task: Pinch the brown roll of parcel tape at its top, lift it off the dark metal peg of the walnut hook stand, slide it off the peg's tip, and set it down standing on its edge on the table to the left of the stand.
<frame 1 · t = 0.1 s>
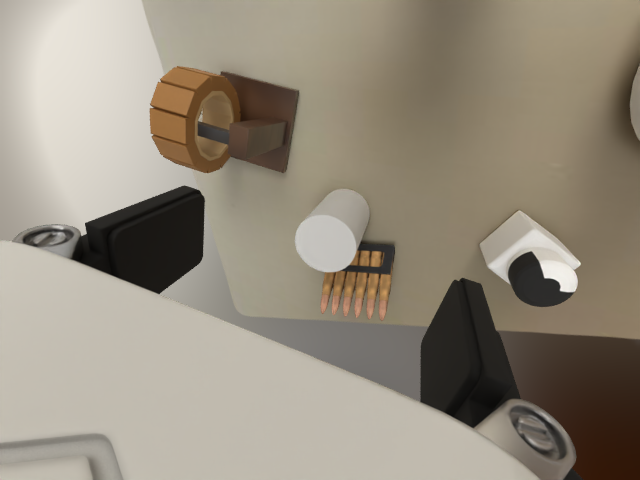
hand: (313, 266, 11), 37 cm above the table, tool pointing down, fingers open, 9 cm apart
ammunition clip: (361, 245, 51), on the table
cup: (345, 212, 50), on the table
medicine bottle: (516, 241, 44), on the table
hook stand: (256, 123, 48), on the table
tape roll: (200, 122, 40), point 9 cm above the table, touching hook stand
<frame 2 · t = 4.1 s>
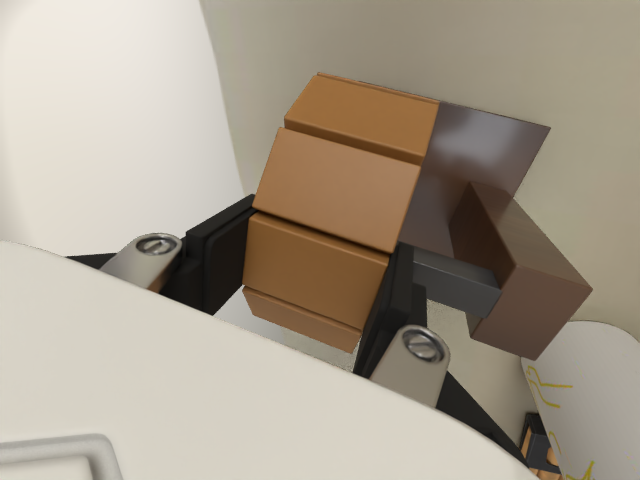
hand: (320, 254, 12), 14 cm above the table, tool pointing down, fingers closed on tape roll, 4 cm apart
ammunition clip: (604, 435, 26), point 1 cm above the table
cup: (578, 359, 25), on the table
hook stand: (416, 188, 23), on the table
tape roll: (345, 215, 16), point 9 cm above the table, touching gripper, hook stand
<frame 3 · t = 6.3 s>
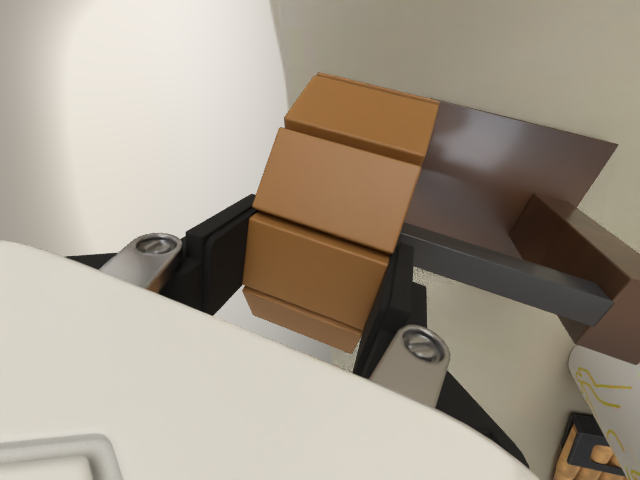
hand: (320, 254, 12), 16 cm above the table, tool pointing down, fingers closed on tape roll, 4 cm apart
cup: (625, 362, 26), on the table
hook stand: (476, 198, 24), on the table
tape roll: (345, 215, 16), point 11 cm above the table, touching gripper
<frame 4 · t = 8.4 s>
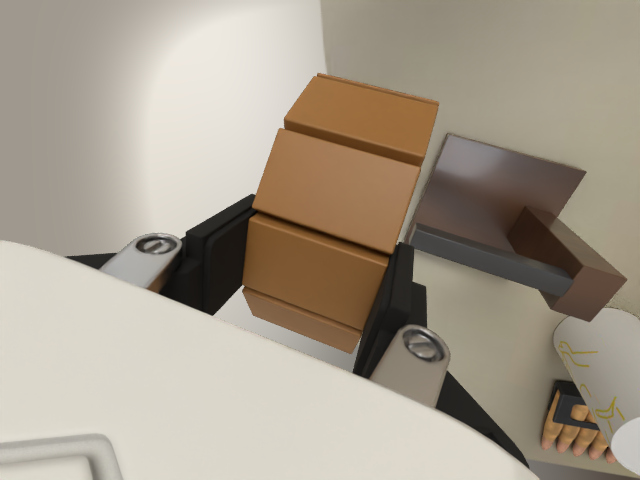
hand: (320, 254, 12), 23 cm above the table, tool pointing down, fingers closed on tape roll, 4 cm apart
ammunition clip: (615, 395, 34), point 1 cm above the table
cup: (597, 337, 33), on the table
hook stand: (481, 208, 31), on the table
tape roll: (345, 216, 16), point 19 cm above the table, touching gripper
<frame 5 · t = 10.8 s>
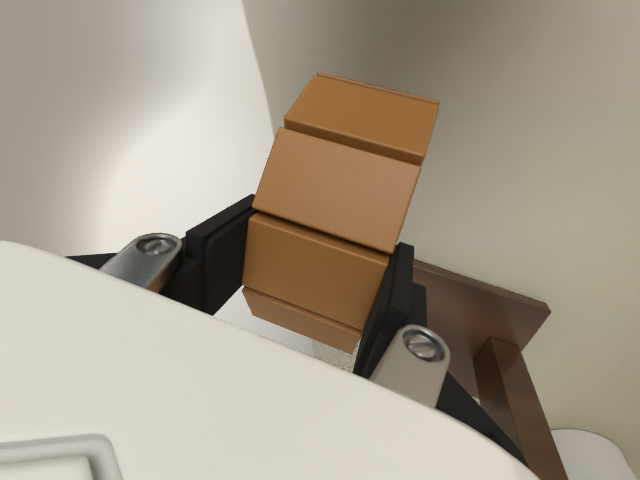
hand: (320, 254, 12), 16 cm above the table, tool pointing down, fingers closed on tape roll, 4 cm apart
cup: (572, 454, 32), on the table
hook stand: (447, 328, 30), on the table
tape roll: (345, 215, 16), point 12 cm above the table, touching gripper
when the fingers open (10 cm above the table, at t = 12.6 s): tape roll stays where it is, point 6 cm above the table.
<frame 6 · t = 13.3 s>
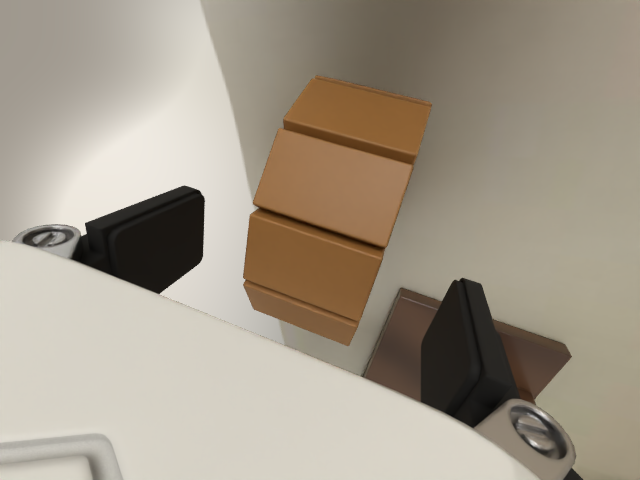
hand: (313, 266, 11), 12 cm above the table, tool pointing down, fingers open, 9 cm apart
hook stand: (447, 367, 26), on the table
tape roll: (342, 213, 16), point 6 cm above the table
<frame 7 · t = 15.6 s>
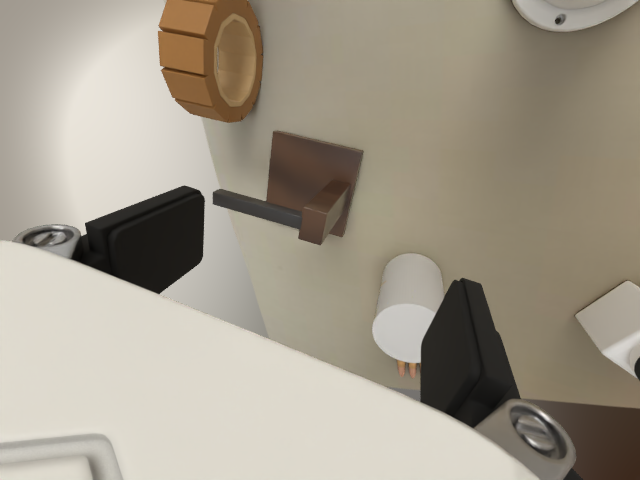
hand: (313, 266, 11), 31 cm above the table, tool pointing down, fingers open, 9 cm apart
cup: (411, 277, 44), on the table
medicine bottle: (621, 312, 38), on the table
hook stand: (311, 184, 43), on the table
tape roll: (218, 60, 33), point 6 cm above the table
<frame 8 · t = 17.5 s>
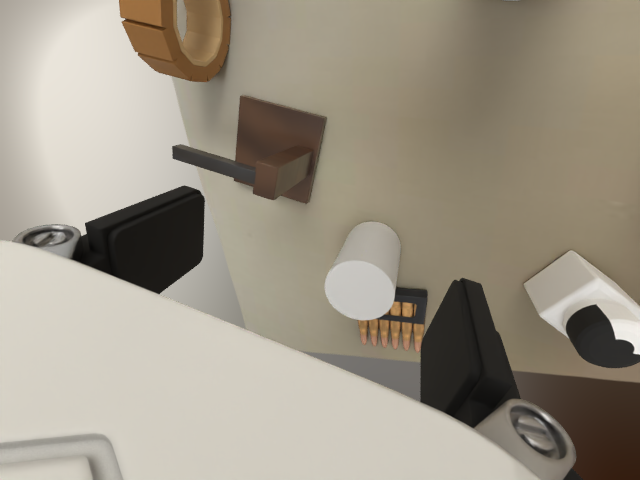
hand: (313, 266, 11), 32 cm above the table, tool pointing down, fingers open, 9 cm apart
ammunition clip: (390, 289, 46), point 1 cm above the table
cup: (373, 246, 46), on the table
medicine bottle: (565, 282, 40), on the table
hook stand: (278, 150, 44), on the table
tape roll: (182, 18, 34), point 6 cm above the table
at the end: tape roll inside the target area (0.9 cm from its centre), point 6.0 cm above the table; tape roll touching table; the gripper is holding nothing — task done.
